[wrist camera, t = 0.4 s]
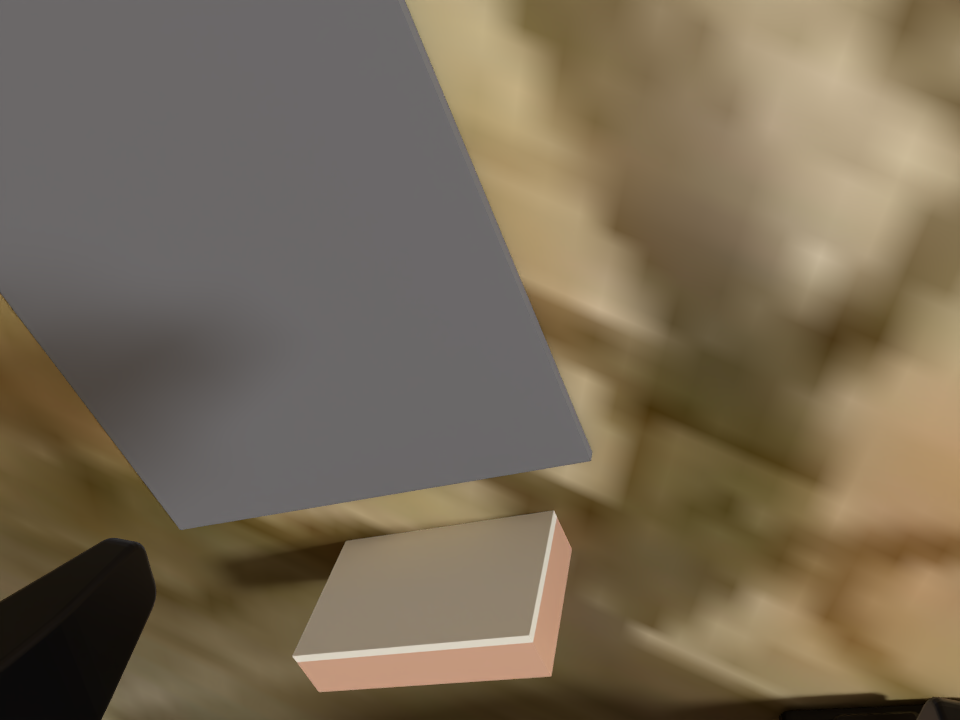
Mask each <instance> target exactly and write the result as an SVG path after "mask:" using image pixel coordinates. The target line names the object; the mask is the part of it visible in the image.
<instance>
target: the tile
mask: <svg viewBox="0 0 960 720" xmlns="http://www.w3.org/2000/svg"><path fill="white" fill-rule="evenodd" d="M571 552H572V549H571V546H570V544H569V542H568V540H567V538H566V536H565V533H564V531H563V529H562V527H561V525H560V523H559V520H558V518H557V516H556V514H555V512H554V510H553V511H546V512H539V513H533V514H526V515H519V516H512V517H505V518H499V519H492V520H485V521H478V522H471V523H465V524H458V525H451V526H444V527H437V528H431V529H424V530H417V531H410V532H403V533H397V534H390V535H383V536H376V537H369V538H363V539H356V540H349V541H346V542H345V544H344V546H343V548H342V550H341V552H340V555H339V557H338V559H337V561H336V563H335V565H334V568H333V570H332V572H331V574H330V576H329V578H328V580H327V583H326V585H325V587H324V589H323V591H322V593H321V596H320V598H319V600H318V602H317V604H316V606H315V608H314V611H313V613H312V615H311V617H310V619H309V621H308V624H307V626H306V628H305V630H304V632H303V634H302V636H301V639H300V641H299V643H298V645H297V647H296V649H295V652H294V654H293V658H294V659H295V660H296V662H297V663H298V664H299V666H300V667H301V668H302V670H303V671H304V672H305V674H306V675H307V676H308V678H309V679H310V680H311V682H312V683H313V684H314V686H315V687H316V689H317V690H318V691H319V692H327V691H342V690H357V689H371V688H386V687H401V686H416V685H431V684H446V683H461V682H476V681H491V680H506V679H521V678H535V677H550V676H551V675H552V669H553V663H554V656H555V650H556V644H557V638H558V632H559V626H560V619H561V613H562V607H563V601H564V595H565V589H566V582H567V576H568V570H569V564H570V558H571Z"/></svg>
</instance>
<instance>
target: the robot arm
mask: <svg viewBox="0 0 960 720" xmlns="http://www.w3.org/2000/svg"><path fill="white" fill-rule="evenodd" d="M155 599H156V584H155V581H154V578H153V574H152V571H151V567H150V564H149V561H148V557H147V554H146V551H145V548H144V547H143V546H142V545H141V544H140V543H138V542H134V541H129V540H123V539H118V538H109V539H106V540H104V541H102V542H100V543H98V544H96V545H95V546H93V547H91V548H90V549H88V550H86V551H84V552H83V553H81V554H79V555H78V556H76V557H74V558H73V559H71V560H69V561H68V562H66V563H64V564H63V565H61V566H59V567H57V568H56V569H54V570H52V571H51V572H49V573H47V574H46V575H44V576H42V577H41V578H39V579H37V580H36V581H34V582H32V583H30V584H29V585H27V586H25V587H24V588H22V589H20V590H19V591H17V592H15V593H14V594H12V595H10V596H9V597H7V598H5V599H3V600H2V601H0V720H101V719H102V717H103V715H104V713H105V711H106V709H107V707H108V705H109V703H110V700H111V698H112V696H113V694H114V692H115V690H116V687H117V685H118V683H119V681H120V679H121V676H122V674H123V672H124V670H125V668H126V666H127V663H128V661H129V659H130V657H131V655H132V652H133V650H134V648H135V646H136V644H137V641H138V639H139V637H140V635H141V633H142V631H143V628H144V626H145V624H146V622H147V620H148V617H149V615H150V613H151V611H152V609H153V606H154V603H155ZM779 720H960V701H956V700H951V699H946V698H940V697H932V698H930V699H929V700H927V702H926V703H925V704H924V705H915V706H892V707H870V708H848V709H825V710H803V711H788V712H784V713H782V714H781V715H780V716H779Z"/></svg>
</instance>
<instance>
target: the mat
mask: <svg viewBox="0 0 960 720" xmlns="http://www.w3.org/2000/svg"><path fill="white" fill-rule="evenodd" d="M0 293H1V294H2V296H3V297H4V298H5V300H6V301H7V302H8V304H9V305H10V306H11V308H12V309H13V310H14V311H15V313H16V314H17V315H18V317H19V318H20V319H21V321H22V322H23V323H24V325H25V326H26V327H27V329H28V330H29V331H30V333H31V334H32V335H33V337H34V338H35V339H36V340H37V342H38V343H39V344H40V346H41V347H42V348H43V350H44V351H45V352H46V354H47V355H48V356H49V358H50V359H51V360H52V362H53V363H54V364H55V365H56V367H57V368H58V369H59V371H60V372H61V373H62V375H63V376H64V377H65V379H66V380H67V381H68V383H69V384H70V385H71V387H72V388H73V389H74V391H75V392H76V393H77V394H78V396H79V397H80V398H81V400H82V401H83V402H84V404H85V405H86V406H87V408H88V409H89V410H90V412H91V413H92V414H93V416H94V417H95V418H96V419H97V421H98V422H99V423H100V425H101V426H102V427H103V429H104V430H105V431H106V433H107V434H108V435H109V437H110V438H111V439H112V441H113V442H114V443H115V445H116V446H117V447H118V448H119V450H120V451H121V452H122V454H123V455H124V456H125V458H126V459H127V460H128V462H129V463H130V464H131V466H132V467H133V468H134V470H135V471H136V472H137V473H138V475H139V476H140V477H141V479H142V480H143V481H144V483H145V484H146V485H147V487H148V488H149V489H150V491H151V492H152V493H153V495H154V496H155V497H156V498H157V500H158V501H159V502H160V504H161V505H162V506H163V508H164V509H165V510H166V512H167V513H168V514H169V516H170V517H171V518H172V520H173V521H174V522H175V524H176V525H177V526H178V527H179V529H180V530H183V529H189V528H195V527H201V526H207V525H213V524H219V523H224V522H230V521H236V520H242V519H248V518H254V517H260V516H266V515H272V514H278V513H284V512H290V511H296V510H302V509H308V508H314V507H320V506H326V505H332V504H338V503H344V502H349V501H355V500H361V499H367V498H373V497H379V496H385V495H391V494H397V493H403V492H409V491H415V490H421V489H427V488H433V487H439V486H445V485H451V484H457V483H463V482H469V481H474V480H480V479H486V478H492V477H498V476H504V475H510V474H516V473H522V472H528V471H534V470H540V469H546V468H552V467H558V466H564V465H570V464H576V463H582V462H588V461H591V457H592V450H591V448H590V446H589V443H588V441H587V438H586V436H585V434H584V431H583V429H582V426H581V424H580V422H579V419H578V417H577V414H576V412H575V409H574V407H573V405H572V402H571V400H570V397H569V395H568V393H567V390H566V388H565V385H564V383H563V381H562V378H561V376H560V373H559V371H558V369H557V366H556V364H555V361H554V359H553V356H552V354H551V352H550V349H549V347H548V344H547V342H546V340H545V337H544V335H543V332H542V330H541V328H540V325H539V323H538V320H537V318H536V316H535V313H534V311H533V308H532V306H531V303H530V301H529V299H528V296H527V294H526V291H525V289H524V287H523V284H522V282H521V279H520V277H519V275H518V272H517V270H516V267H515V265H514V263H513V260H512V258H511V255H510V253H509V250H508V248H507V246H506V243H505V241H504V238H503V236H502V234H501V231H500V229H499V226H498V224H497V222H496V219H495V217H494V214H493V212H492V210H491V207H490V205H489V202H488V200H487V197H486V195H485V193H484V190H483V188H482V185H481V183H480V181H479V178H478V176H477V173H476V171H475V169H474V166H473V164H472V161H471V159H470V156H469V154H468V152H467V149H466V147H465V144H464V142H463V140H462V137H461V135H460V132H459V130H458V128H457V125H456V123H455V120H454V118H453V116H452V113H451V111H450V108H449V106H448V103H447V101H446V99H445V96H444V94H443V91H442V89H441V87H440V84H439V82H438V79H437V77H436V75H435V72H434V70H433V67H432V65H431V63H430V60H429V58H428V55H427V53H426V50H425V48H424V46H423V43H422V41H421V38H420V36H419V34H418V31H417V29H416V26H415V24H414V22H413V19H412V17H411V14H410V12H409V10H408V7H407V5H406V2H405V0H0Z"/></svg>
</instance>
